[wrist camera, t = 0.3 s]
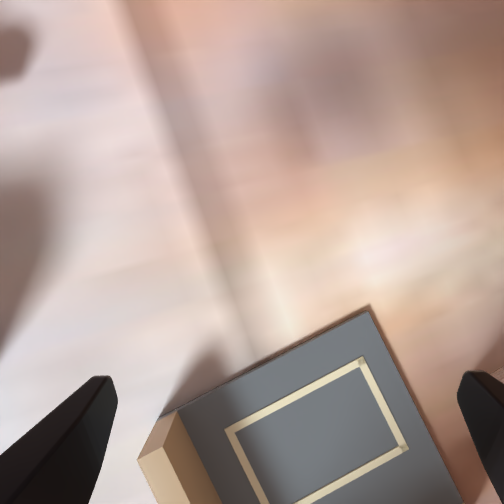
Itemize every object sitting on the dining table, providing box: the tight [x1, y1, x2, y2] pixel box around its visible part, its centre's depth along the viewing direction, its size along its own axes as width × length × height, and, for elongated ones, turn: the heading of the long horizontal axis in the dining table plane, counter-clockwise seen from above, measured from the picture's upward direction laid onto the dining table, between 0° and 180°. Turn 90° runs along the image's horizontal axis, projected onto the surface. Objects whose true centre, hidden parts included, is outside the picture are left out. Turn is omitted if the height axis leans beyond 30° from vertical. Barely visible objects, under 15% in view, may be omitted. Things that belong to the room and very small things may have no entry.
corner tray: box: [137, 311, 465, 504], centre depth 21 cm, size 16×16×5 cm
